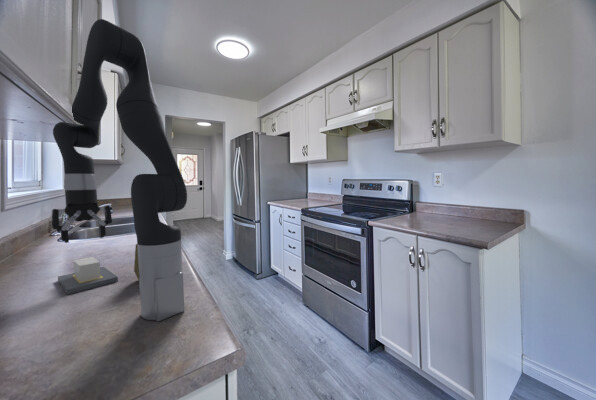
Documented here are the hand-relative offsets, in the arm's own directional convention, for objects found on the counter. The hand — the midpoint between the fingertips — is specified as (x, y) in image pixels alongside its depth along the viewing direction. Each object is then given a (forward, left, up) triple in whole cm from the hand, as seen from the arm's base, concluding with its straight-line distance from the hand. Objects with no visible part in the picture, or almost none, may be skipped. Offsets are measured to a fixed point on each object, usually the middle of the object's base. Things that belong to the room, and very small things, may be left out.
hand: (84, 239), depth 79 cm
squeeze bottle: (-14, -13, -14) cm, 24 cm away
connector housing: (0, 0, -12) cm, 12 cm away
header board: (0, 0, -14) cm, 14 cm away
